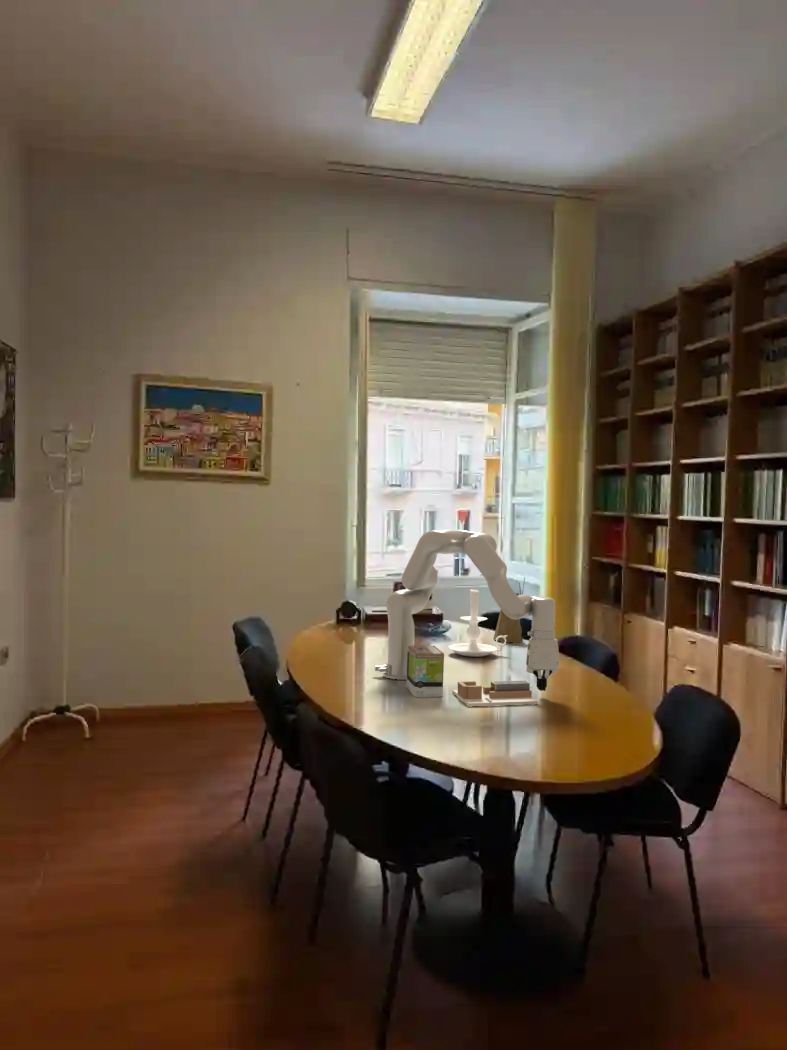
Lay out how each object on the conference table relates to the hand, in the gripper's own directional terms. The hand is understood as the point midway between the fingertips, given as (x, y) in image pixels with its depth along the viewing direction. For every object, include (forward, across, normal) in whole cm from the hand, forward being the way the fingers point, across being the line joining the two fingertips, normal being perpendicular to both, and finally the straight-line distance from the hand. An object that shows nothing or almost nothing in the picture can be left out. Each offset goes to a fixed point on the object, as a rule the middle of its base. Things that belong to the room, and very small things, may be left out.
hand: (541, 689), depth 268 cm
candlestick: (+3, +1, +72) cm, 72 cm away
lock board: (+3, -16, 0) cm, 17 cm away
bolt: (+1, -11, 0) cm, 11 cm away
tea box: (+3, -37, +12) cm, 39 cm away
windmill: (+3, +26, +105) cm, 108 cm away
